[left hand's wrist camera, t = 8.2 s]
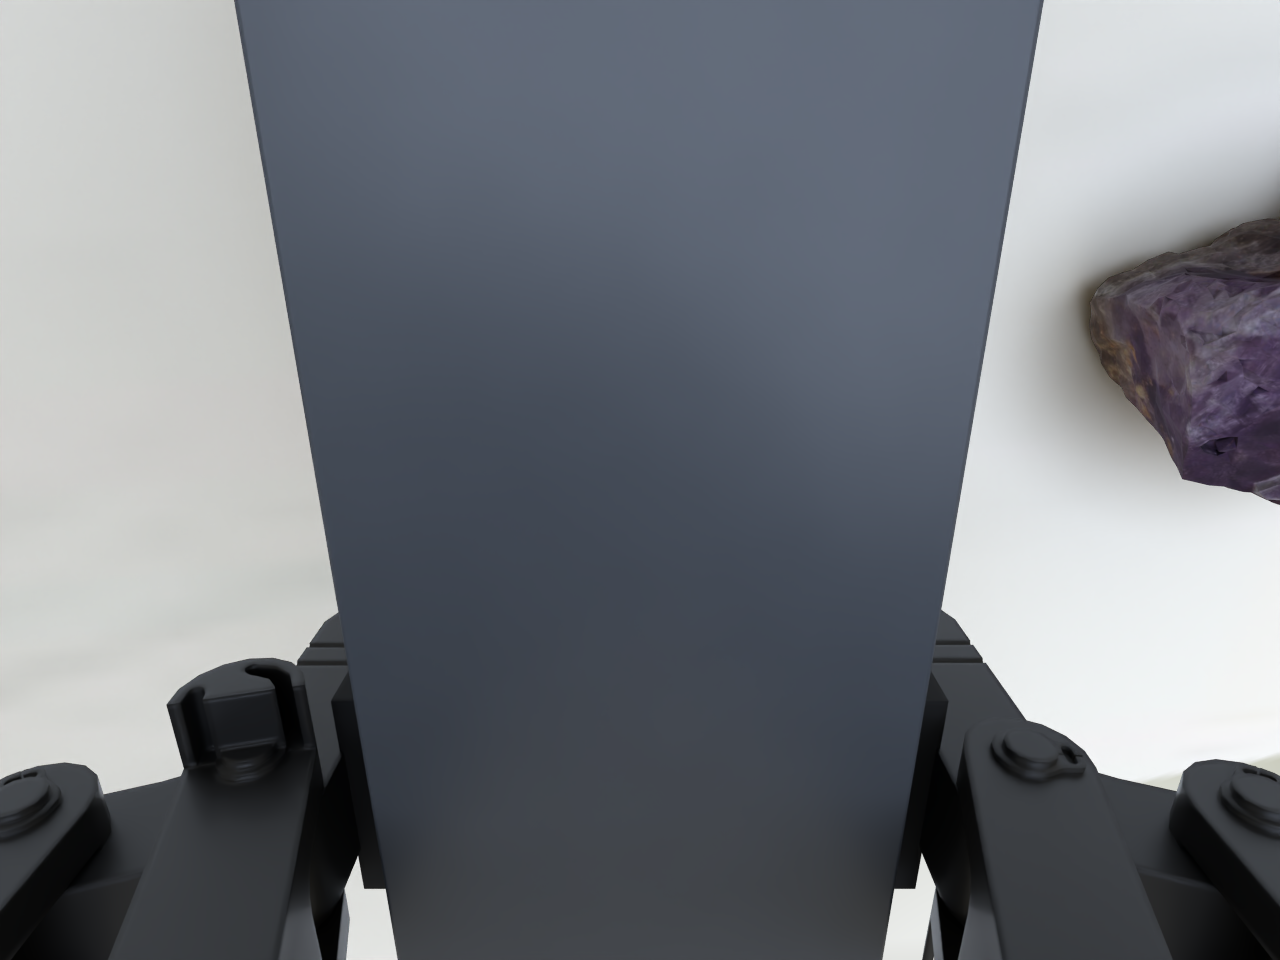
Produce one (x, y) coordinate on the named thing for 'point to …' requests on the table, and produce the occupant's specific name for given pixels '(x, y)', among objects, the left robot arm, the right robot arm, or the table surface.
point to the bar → (639, 439)
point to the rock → (1203, 354)
